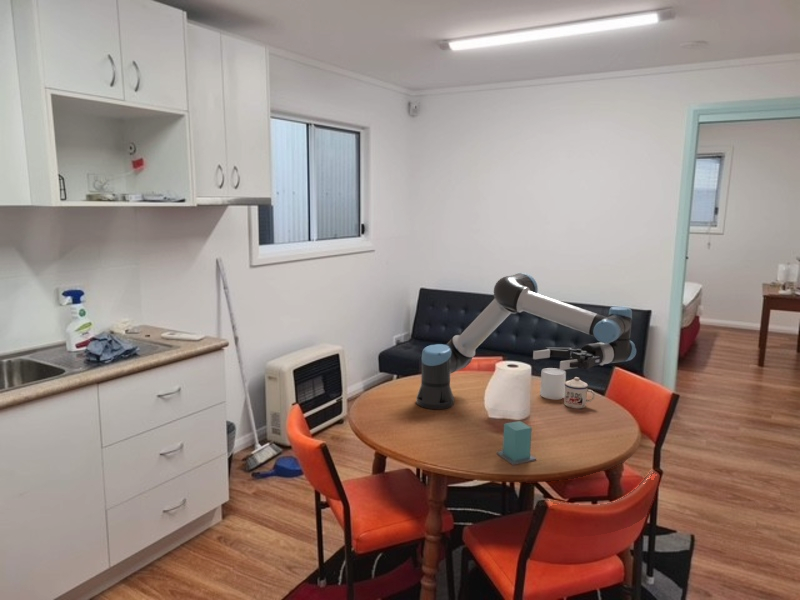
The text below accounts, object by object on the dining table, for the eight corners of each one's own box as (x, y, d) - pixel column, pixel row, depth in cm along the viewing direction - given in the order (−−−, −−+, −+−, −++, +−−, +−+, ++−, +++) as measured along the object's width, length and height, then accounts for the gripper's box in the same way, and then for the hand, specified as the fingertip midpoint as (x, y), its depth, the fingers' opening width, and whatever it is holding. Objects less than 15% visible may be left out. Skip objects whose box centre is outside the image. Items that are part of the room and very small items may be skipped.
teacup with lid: (561, 406, 230) (563, 378, 228) (565, 399, 238) (567, 373, 236) (592, 411, 225) (594, 383, 223) (595, 404, 233) (597, 377, 231)
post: (512, 465, 177) (514, 442, 176) (496, 453, 185) (497, 431, 184) (536, 460, 181) (537, 437, 180) (519, 449, 189) (520, 427, 188)
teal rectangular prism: (514, 460, 179) (515, 430, 177) (502, 452, 185) (504, 423, 183) (530, 457, 182) (531, 427, 180) (518, 449, 187) (519, 421, 186)
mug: (544, 388, 253) (545, 365, 251) (567, 391, 249) (569, 368, 247) (537, 397, 241) (539, 372, 239) (562, 400, 237) (563, 376, 235)
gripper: (623, 374, 185) (572, 382, 176) (570, 355, 207) (523, 361, 199) (625, 352, 184) (573, 358, 175) (572, 335, 206) (524, 340, 197)
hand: (546, 360), depth 187 cm, fingers open, 13 cm apart
